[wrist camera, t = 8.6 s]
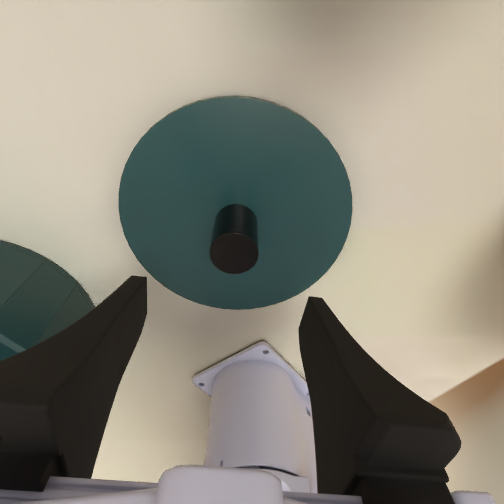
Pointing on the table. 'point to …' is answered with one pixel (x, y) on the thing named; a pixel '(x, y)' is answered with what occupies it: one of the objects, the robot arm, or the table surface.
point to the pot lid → (235, 202)
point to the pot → (35, 299)
